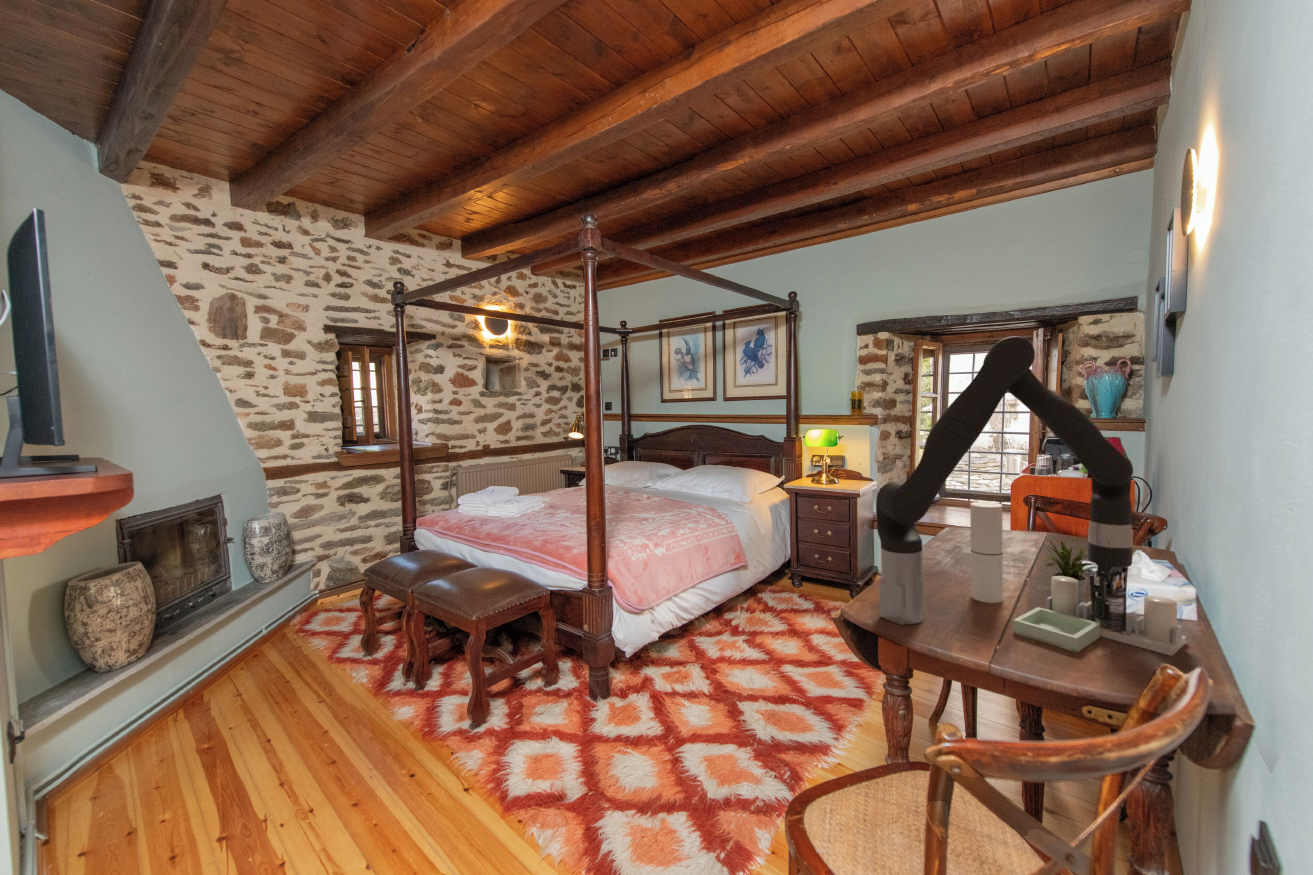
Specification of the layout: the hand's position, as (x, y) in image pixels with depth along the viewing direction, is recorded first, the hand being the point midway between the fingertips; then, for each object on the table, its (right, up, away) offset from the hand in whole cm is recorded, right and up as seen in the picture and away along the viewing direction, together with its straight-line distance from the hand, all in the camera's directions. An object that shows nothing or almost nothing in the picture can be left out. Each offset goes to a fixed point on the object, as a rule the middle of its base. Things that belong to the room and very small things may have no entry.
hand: (1108, 615), depth 119 cm
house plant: (+5, -2, +20) cm, 20 cm away
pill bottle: (0, -3, 0) cm, 3 cm away
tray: (-12, -4, 0) cm, 13 cm away
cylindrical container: (-13, -3, +22) cm, 26 cm away
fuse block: (0, -3, 0) cm, 3 cm away
